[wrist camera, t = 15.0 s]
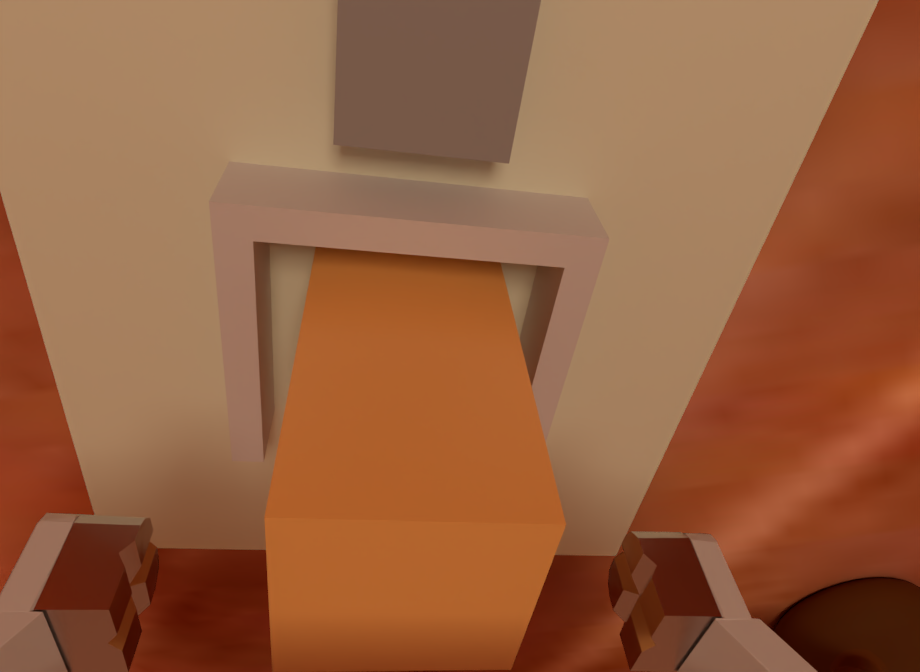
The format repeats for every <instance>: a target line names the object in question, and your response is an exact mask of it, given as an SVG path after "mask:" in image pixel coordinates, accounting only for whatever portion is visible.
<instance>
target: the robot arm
mask: <svg viewBox="0 0 920 672" xmlns="http://www.w3.org/2000/svg"><path fill="white" fill-rule="evenodd" d="M152 533H153V527H152V523H151V519H150V518H147V517H125V516H103V515H83V514H59V513H46V514H45V515H44V516H43V518H42V519H41V520H40V521H39V522H38V523H37V524H36V526H35V528H34V530H33V532H32V534H31V536H30V538H29V540H28V542H27V544H26V545H25V547H24V549H23V551H22V553H21V555H20V557H19V559H18V561H17V563H16V565H15V567H14V569H13V570H12V572H11V574H10V576H9V578H8V580H7V582H6V584H5V586H4V588H3V590H2V592H1V593H0V672H129V669H130V666H131V663H132V660H133V657H134V654H135V651H136V648H137V645H138V642H139V639H140V636H141V632H142V629H141V625H140V621H139V617H138V615H139V614H140V613H141V612H143V611H144V610H145V609H146V608H147V607H148V606H149V605H150V604H151V601H152V597H153V594H154V591H155V587H156V582H157V576H158V570H159V555H158V550H157V547H156V546H155V545H154V544H152V543H151V542H150V539H151V536H152ZM622 546H623V550H624V552H623V553H621V554H620V555H618V556H617V557H615V558H614V560H613V562H612V564H611V567H610V569H609V579H608V587H609V596H610V600H611V604H612V608H613V610H614V611H615V612H616V613H617V615H618V616H619V617H620V618H621V619H622V620H623V621H624V625H623V627H622V630H621V632H620V637H621V640H622V644H623V647H624V651H625V654H626V658H627V662H628V665H629V669H630V671H650V672H818V671H816V670H815V669H814V668H813V667H812V666H811V665H810V664H809V663H808V662H807V661H805V660H804V659H803V658H802V657H801V656H800V655H799V654H798V653H797V652H796V651H794V650H793V649H792V648H791V647H790V646H789V645H788V644H787V643H786V642H785V641H783V640H782V639H781V638H780V637H779V636H778V635H777V634H776V633H775V632H774V631H772V630H771V629H770V628H769V627H768V626H767V625H766V624H765V623H764V622H763V621H761V620H760V619H755V618H751V615H750V613H749V611H748V609H747V607H746V604H745V602H744V600H743V598H742V596H741V594H740V591H739V589H738V587H737V585H736V583H735V580H734V578H733V576H732V574H731V572H730V569H729V567H728V565H727V563H726V561H725V558H724V556H723V554H722V552H721V550H720V548H719V545H718V543H717V541H716V539H715V538H714V537H713V536H712V535H711V534H706V533H681V532H630V533H628V534H626V536H625V538H624V539H623V541H622Z"/></svg>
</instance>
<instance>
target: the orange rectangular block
mask: <svg viewBox="0 0 920 672" xmlns="http://www.w3.org/2000/svg"><path fill="white" fill-rule="evenodd" d="M264 521H265V540H266V560H267V579H268V599H269V618H270V638H271V657H272V672H355V671H455V670H511V669H512V666H513V663H514V661H515V658H516V655H517V653H518V650H519V648H520V645H521V642H522V640H523V637H524V634H525V632H526V629H527V627H528V624H529V621H530V619H531V616H532V613H533V611H534V608H535V606H536V603H537V600H538V598H539V595H540V592H541V590H542V587H543V585H544V582H545V579H546V577H547V574H548V571H549V569H550V566H551V564H552V561H553V558H554V556H555V553H556V550H557V548H558V545H559V543H560V540H561V537H562V535H563V532H564V529H565V527H566V522H565V518H564V514H563V510H562V506H561V502H560V498H559V494H558V490H557V486H556V482H555V478H554V474H553V470H552V466H551V462H550V458H549V454H548V450H547V446H546V442H545V438H544V434H543V430H542V426H541V422H540V418H539V414H538V410H537V406H536V402H535V398H534V394H533V390H532V386H531V382H530V378H529V374H528V370H527V366H526V362H525V358H524V354H523V350H522V346H521V342H520V338H519V334H518V330H517V326H516V322H515V318H514V314H513V310H512V306H511V303H510V299H509V295H508V291H507V287H506V283H505V279H504V275H503V271H502V267H501V263H500V262H491V261H479V260H467V259H455V258H444V257H432V256H420V255H408V254H397V253H385V252H373V251H361V250H349V249H338V248H326V247H316V248H315V254H314V259H313V264H312V269H311V275H310V280H309V285H308V290H307V296H306V301H305V306H304V311H303V317H302V322H301V327H300V333H299V338H298V343H297V348H296V354H295V359H294V364H293V369H292V375H291V380H290V385H289V390H288V396H287V401H286V406H285V411H284V417H283V422H282V427H281V432H280V438H279V443H278V448H277V454H276V459H275V464H274V469H273V475H272V480H271V485H270V490H269V496H268V501H267V506H266V511H265V517H264Z"/></svg>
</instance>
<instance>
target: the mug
mask: <svg viewBox="0 0 920 672" xmlns="http://www.w3.org/2000/svg"><path fill="white" fill-rule="evenodd" d="M774 632H775V633H776V634H777V635H778V636H779V637H780V638H781V639H782V640H783V641H785V642H786V643H787V644H788V645H789V646H790V647H791V648H792V649H793V650H794V651H796V652H797V653H798V654H799V655H800V656H801V657H802V658H803V659H804V660H805V661H807V662H808V663H809V664H810V665H811V666H812V667H813V668H814V669H815V670H816V671H818V672H920V587H918V586H916V585H914V584H912V583H910V582H907V581H903V580H898V579H891V578H870V579H861V580H856V581H851V582H847V583H843V584H839V585H836V586H833V587H830V588H828V589H825V590H822V591H820V592H818V593H816V594H814V595H812V596H810V597H808V598H806V599H804V600H803V601H801V602H800V603H798V604H797V605H795V606H794V607H793V608H791V609H790V610H789V611H788V612H787V613H786V614H785V615H784V616H783V617H782V618H781V619H780V621H779V622H778V624H777V625H776V627H775V629H774Z"/></svg>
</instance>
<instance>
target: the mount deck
mask: <svg viewBox="0 0 920 672" xmlns="http://www.w3.org/2000/svg"><path fill="white" fill-rule="evenodd" d="M878 1H879V0H0V192H1V195H2V199H3V202H4V206H5V209H6V213H7V216H8V219H9V223H10V226H11V230H12V233H13V237H14V240H15V244H16V247H17V250H18V254H19V257H20V261H21V264H22V268H23V271H24V274H25V278H26V281H27V285H28V288H29V292H30V295H31V298H32V302H33V305H34V309H35V312H36V316H37V319H38V323H39V326H40V329H41V333H42V336H43V340H44V343H45V347H46V350H47V353H48V357H49V360H50V364H51V367H52V371H53V374H54V377H55V381H56V384H57V388H58V391H59V395H60V398H61V402H62V405H63V408H64V412H65V415H66V419H67V422H68V426H69V429H70V432H71V436H72V439H73V443H74V446H75V450H76V453H77V456H78V460H79V463H80V467H81V470H82V474H83V477H84V481H85V484H86V487H87V491H88V494H89V498H90V501H91V505H92V508H93V511H94V515H103V516H125V517H147V518H150V519H151V523H152V527H153V533H152V536H151V539H150V542H151V543H152V544H154V545H155V546H156V547H157V548H178V549H237V550H266V540H265V521H264V517H265V511H266V506H267V501H268V496H269V490H270V485H271V480H272V475H273V469H274V464H275V459H276V454H277V448H278V443H279V438H280V432H281V427H282V422H283V417H284V411H285V406H286V401H287V396H288V390H289V385H290V380H291V375H292V369H293V364H294V359H295V354H296V348H297V343H298V338H299V333H300V327H301V322H302V317H303V311H304V306H305V301H306V296H307V290H308V285H309V280H310V275H311V269H312V264H313V259H314V254H315V248H316V247H326V248H338V249H349V250H361V251H373V252H385V253H397V254H408V255H420V256H432V257H444V258H455V259H467V260H479V261H491V262H500V263H501V267H502V271H503V275H504V279H505V283H506V287H507V291H508V295H509V299H510V303H511V306H512V310H513V314H514V318H515V322H516V326H517V330H518V334H519V338H520V342H521V346H522V350H523V354H524V358H525V362H526V366H527V370H528V374H529V378H530V382H531V386H532V390H533V394H534V398H535V402H536V406H537V410H538V414H539V418H540V422H541V426H542V430H543V434H544V438H545V442H546V446H547V450H548V454H549V458H550V462H551V466H552V470H553V474H554V478H555V482H556V486H557V490H558V494H559V498H560V502H561V506H562V510H563V514H564V518H565V522H566V527H565V529H564V532H563V535H562V537H561V540H560V543H559V545H558V548H557V550H556V553H555V555H590V556H616V555H617V553H618V551H619V549H620V546H621V544H622V541H623V539H624V538H625V536H626V534H627V532H628V529H629V527H630V525H631V523H632V521H633V519H634V517H635V515H636V513H637V510H638V508H639V506H640V504H641V502H642V500H643V498H644V496H645V494H646V491H647V489H648V487H649V485H650V483H651V481H652V479H653V477H654V474H655V472H656V470H657V468H658V466H659V464H660V462H661V460H662V458H663V455H664V453H665V451H666V449H667V447H668V445H669V443H670V441H671V439H672V436H673V434H674V432H675V430H676V428H677V426H678V424H679V422H680V419H681V417H682V415H683V413H684V411H685V409H686V407H687V405H688V403H689V400H690V398H691V396H692V394H693V392H694V390H695V388H696V386H697V384H698V381H699V379H700V377H701V375H702V373H703V371H704V369H705V367H706V365H707V362H708V360H709V358H710V356H711V354H712V352H713V350H714V348H715V345H716V343H717V341H718V339H719V337H720V335H721V333H722V331H723V329H724V326H725V324H726V322H727V320H728V318H729V316H730V314H731V312H732V310H733V307H734V305H735V303H736V301H737V299H738V297H739V295H740V293H741V290H742V288H743V286H744V284H745V282H746V280H747V278H748V276H749V274H750V271H751V269H752V267H753V265H754V263H755V261H756V259H757V257H758V255H759V252H760V250H761V248H762V246H763V244H764V242H765V240H766V238H767V236H768V233H769V231H770V229H771V227H772V225H773V223H774V221H775V219H776V216H777V214H778V212H779V210H780V208H781V206H782V204H783V202H784V200H785V197H786V195H787V193H788V191H789V189H790V187H791V185H792V183H793V181H794V178H795V176H796V174H797V172H798V170H799V168H800V166H801V164H802V161H803V159H804V157H805V155H806V153H807V151H808V149H809V147H810V145H811V142H812V140H813V138H814V136H815V134H816V132H817V130H818V128H819V126H820V123H821V121H822V119H823V117H824V115H825V113H826V111H827V109H828V106H829V104H830V102H831V100H832V98H833V96H834V94H835V92H836V90H837V87H838V85H839V83H840V81H841V79H842V77H843V75H844V73H845V71H846V68H847V66H848V64H849V62H850V60H851V58H852V56H853V54H854V52H855V49H856V47H857V45H858V43H859V41H860V39H861V37H862V35H863V32H864V30H865V28H866V26H867V24H868V22H869V20H870V18H871V16H872V13H873V11H874V9H875V7H876V5H877V3H878Z"/></svg>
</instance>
